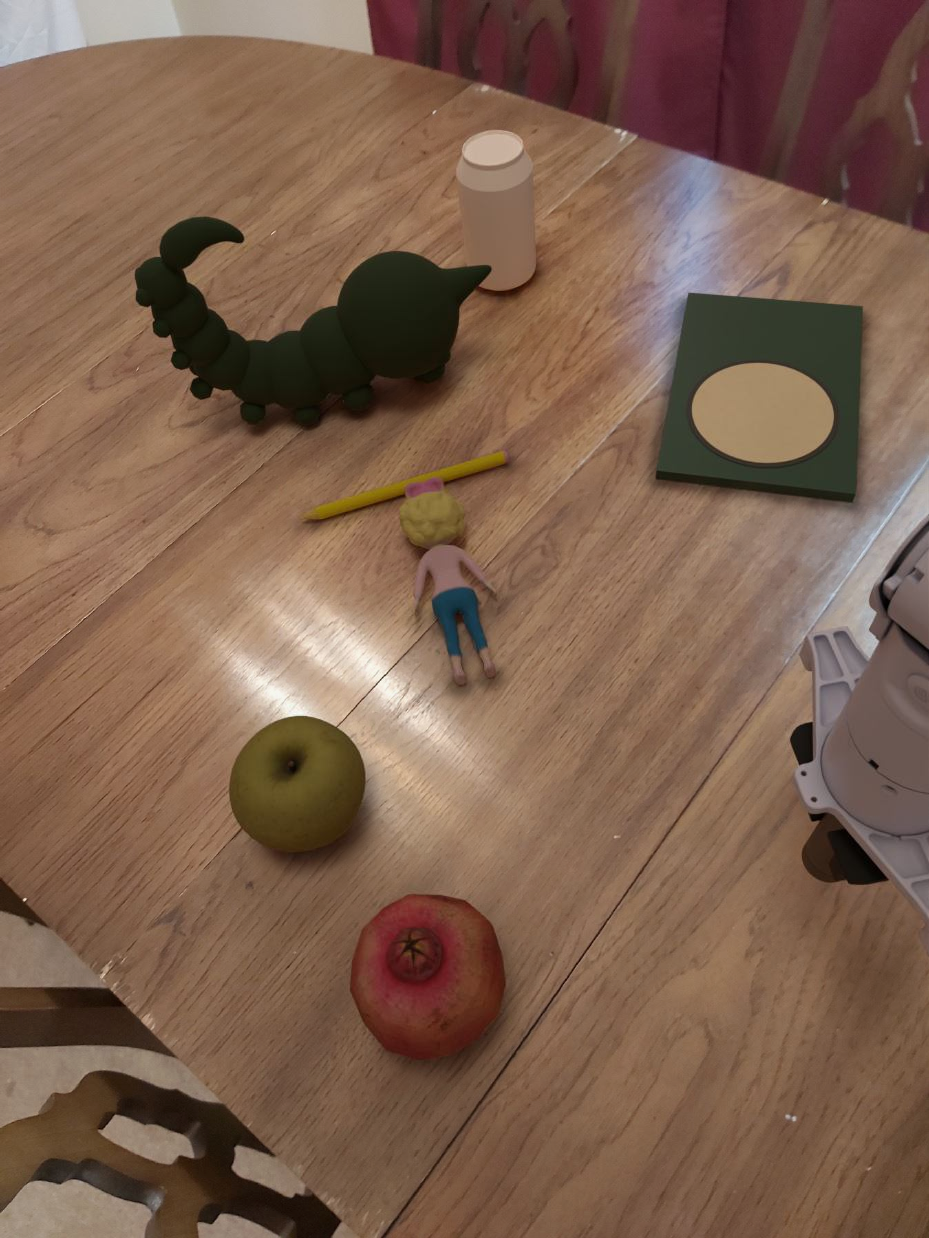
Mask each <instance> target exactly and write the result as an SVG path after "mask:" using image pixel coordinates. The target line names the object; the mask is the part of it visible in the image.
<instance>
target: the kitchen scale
mask: <svg viewBox="0 0 929 1238" xmlns="http://www.w3.org/2000/svg"><path fill="white" fill-rule="evenodd" d="M863 312H864V306H863V305H852V304H842V303H841V304H840V303H838V304H837V303H827V302H817V301H816V302H814V301H802V300H799V301H798V300H789V299H778V298H777V299H774V298H763V297H750V296H738V295H727V294H713V293H702V292H701V293H699V292H688V293H687V298H686V303H685V309H684V313H683V314H684V315H683V319H682V326H681V331H680V336H679V342H678V347H677V353H676V359H675V364H674V371H673V375H672V380H671V388H670V392H669V396H668V397H669V398H668V404H667V409H666V415H665V420H664V426H663V431H662V437H661V443H660V448H659V454H658V460H657V465H656V469H655V479H656V480H661V481H669V482H679V483H687V484H694V485H703V486H710V487H720V488H727V489H736V490H746V491H753V492H761V493H768V494H769V493H770V494H777V495H787V496H794V497H803V498H810V499H820V500H825V501H826V500H828V501H835V502H845V503H854V500H855V497H856V495H857V477H858V451H859V449H858V448H859V427H860V426H859V421H860V399H861V398H860V395H861V368H862V366H861V365H862V345H863V344H862V342H863V340H862V339H863V314H864V313H863Z"/></svg>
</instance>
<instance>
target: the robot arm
mask: <svg viewBox="0 0 929 1238" xmlns="http://www.w3.org/2000/svg"><path fill="white" fill-rule="evenodd" d="M868 604H869V607H870V609H872V610H873V611H874V612H875V616H874V618H873V620H872V622H871V624H870V626H869V627H868V632H869V633H870V634H872V636H874V638H875V639H876V640H877V641H878V643H877V644H876V646H875V648H874V650H873V652H872V654H871V655H870V657H869V655H867V653H865V652H864V650H863V649H862V648H861V646H860V645H859V644H858V642H857V641H856V639H855V637H854V634H853V633H852V632H851V629H850V628H849V626H841V627H836V628H830V629H825V630H821V631H815V632H810V633H807V634H806V636H805V638H804V641H803V643H802V646H801V648H800V651H799V653H798V657H799V658H800V661H801V663H802V665H803V667H804V669H805V670H806V671H808V672H811V684H812V685H811V687H812V689H811V690H812V691H811V693H812V694H811V697H812V721H809V722H804V723H801V724H799V725H798V726H796V727H795V728H794V730H793V731H792V733H791V735H790V737H789V743H790V746H791V749H792V751H793V753H794V755H795V759H796V761H797V764H798V766H796V768H795V769H794V771H793V773H792V775H791V781H792V782H791V783H792V785H793V787H794V790H795V792H796V795H797V798H798V801H799V803H800V805H801V807H802V808H803V810H804V811H805V812H807V814H808V817H809V819H810V822H811V823H815V822H816V823H817V822H819V821H820V820H821V818H822V816H823V815H824V813H826V812H827V813H831V814H833V815H834V816H835V817H836V818H837V819H838V820H839V822H840V823H841V824H842V825H843V826H844V827H845V828H844V829H839V830H834V831H829V832H828V833H827V837H828V839H829V842H830V844H831V847H832V849H833V852H834V856H833V857H832V859H831V860H830V862H829V868H830V871H831V873H832V876H833V878H834V880H835V881H839V882H842V881H846V882H847V884H848V885H849V886H850V885H851V886H869V885H874V884H879V883H884V882H890V883H891V884H892V885H893V887H894V888H895V889H896V890H897V891H898V892H899V893H900V895H901V896H902V897H903V898H904V899H905V901H906V902H907V903H908V904H909V905H910V907H911V908H912V909H913V910H914V912H915V913H916V915H918V917H919V919H920V920H921V921H922V923H923V927H921V928H920V930H919V932H918V937H919V939H920V942H921V944H922V947H923V950H924V951H925V954H926V955H927V957H929V513H928V514H927V515H926V516H925V517H924V518H923V519H922V520H921V521H920V522H919V523H918V524H917V525H916V526H915V527H914V529H913V530H912V531H911V532H910V534H908V536H907V537H906V538H905V539H904V541H903V542H902V543H901V544H900V546H899V547H898V548H897V549H896V551H895V552H894V554H892V556H891V558H890V560H889V561H888V563H887V564H886V566H885V568H884V569H883V570H882V572H881V574H880V575H879V576H878V578H877V579H876V581H875V582H874V583H873V585H872V588H871V591H870V593H869V597H868Z"/></svg>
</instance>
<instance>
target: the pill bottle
mask: <svg viewBox="0 0 929 1238" xmlns="http://www.w3.org/2000/svg"><path fill="white" fill-rule="evenodd" d="M844 828H845V827H844V826H843V825H842V824H841V823H840V822H839V820H838V819H837V818H836V817H835V816H834V815H833V814H831V813H827V812H826V813H824V815H823V816H822V818H821V820H820V821H818V823H817V824H816V826H815V827H814V829H813V831H812V832H811V833H810V835H809V837H808V838H807V840H806V841H805V843H804V845H803V846H802V849H801V853H800V854H801V855H800V857H801V861H802V865H803V867H804V868H805V869H804V870H806V871H807V873H808V874H809V875H810V876H811V877H812V878H814V879H815V880H818V881H820V882H823V883H827V884H834V883H839V882H840V881H835V880H834V878H833V876H832V873H831V871H830V868H829V862H830V860H831V859H832V857H833V856H834V852H833V849H832V847H831V844H830V842H829V839H828V837H827V833H828V832H829V831H834V830H839V829H844Z"/></svg>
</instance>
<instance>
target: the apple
mask: <svg viewBox="0 0 929 1238" xmlns="http://www.w3.org/2000/svg"><path fill="white" fill-rule="evenodd" d="M366 783H367V777H366V768H365V763H364V760H363V757H362V754H361V752H360V750H359V748H358V747H357V745H356V744H355V742H354V741H353V740H352V738H351V737H349V735H347V733H346V732H345V731H343V730H342V729H340V728H338V727H337V726H335V724H332V723H330V722H328V721H325V720H323V719H321V718H318V717H314V716H309V715H292V716H286V717H284V718H280V719H278V720H275V721H273V722H270V723H269V724H267V725H265V726H264V727H262V728H261V729H259V731H256V733H255V734H254V735H253V736H251V738H250V739H249V740H248V741H247V742H246V743H245V744H244V746H242V748H241V750H240V751H239V753H238V754H237V757H236V758H235V760H234V763H233V765H232V768H231V772H230V777H229V786H228V792H229V793H228V797H229V803H230V807H231V812H232V814H233V816H234V818H235V820H236V822H237V823H238V825H239V826H240V828H241V829H242V830H243V831H244V832H245V833H246V834H247V835H248V836H249V837H250V839H252V840H254V841H256V843H258V844H261V845H263V846H264V847H267V848H269V849H273V850H276V851H281V852H289V853H293V852H294V853H295V852H307V851H312V850H316V849H320V848H324V847H325V846H327V845H328V846H329V844H332V843H334V842H335V841H336V840H338V839H339V838H341V837H342V836H343V835H344V834H345V833H346V832H347V831H348V830H349V828H350V827H351V825H352V824H353V823H354V822H355V820H356V818H357V816H358V814H359V811H360V810H361V806H362V804H363V800H364V797H365V791H366Z"/></svg>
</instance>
